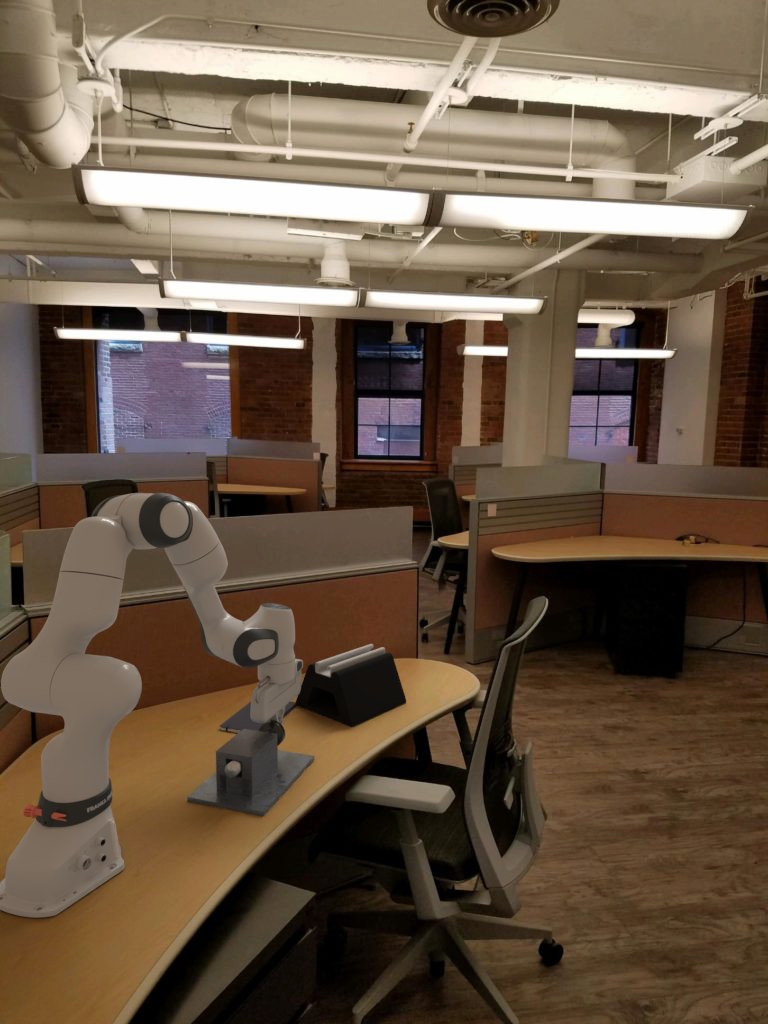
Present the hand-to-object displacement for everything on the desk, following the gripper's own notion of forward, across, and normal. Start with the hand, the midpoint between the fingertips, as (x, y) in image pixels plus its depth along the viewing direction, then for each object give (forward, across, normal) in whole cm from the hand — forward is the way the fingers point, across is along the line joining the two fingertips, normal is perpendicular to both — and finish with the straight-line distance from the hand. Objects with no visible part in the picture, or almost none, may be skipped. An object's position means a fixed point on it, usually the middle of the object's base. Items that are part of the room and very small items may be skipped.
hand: (276, 726), depth 170 cm
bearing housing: (+8, -11, 0) cm, 14 cm away
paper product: (+8, +20, +15) cm, 26 cm away
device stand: (+8, +37, -5) cm, 38 cm away
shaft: (+4, -12, 0) cm, 12 cm away
